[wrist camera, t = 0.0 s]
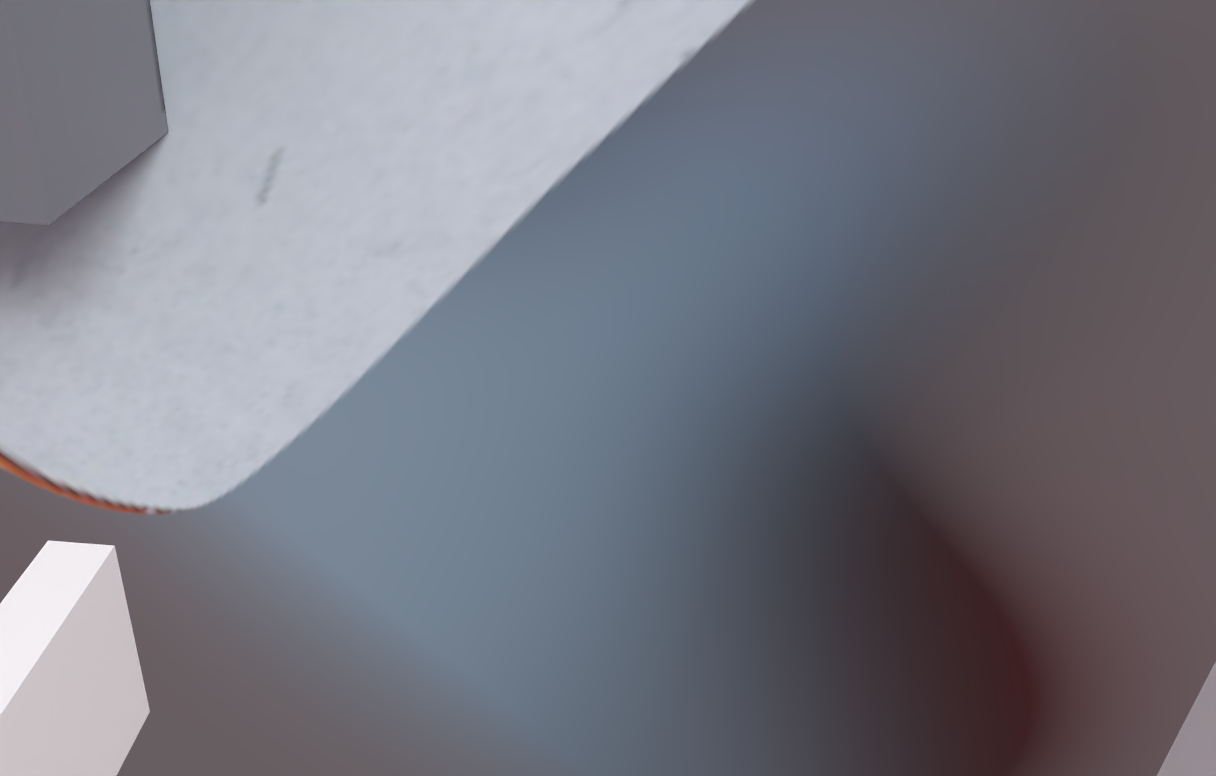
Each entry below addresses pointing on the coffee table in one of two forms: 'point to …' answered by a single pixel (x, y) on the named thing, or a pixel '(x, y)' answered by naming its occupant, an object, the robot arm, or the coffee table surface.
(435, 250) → the coffee table surface
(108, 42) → the housing
